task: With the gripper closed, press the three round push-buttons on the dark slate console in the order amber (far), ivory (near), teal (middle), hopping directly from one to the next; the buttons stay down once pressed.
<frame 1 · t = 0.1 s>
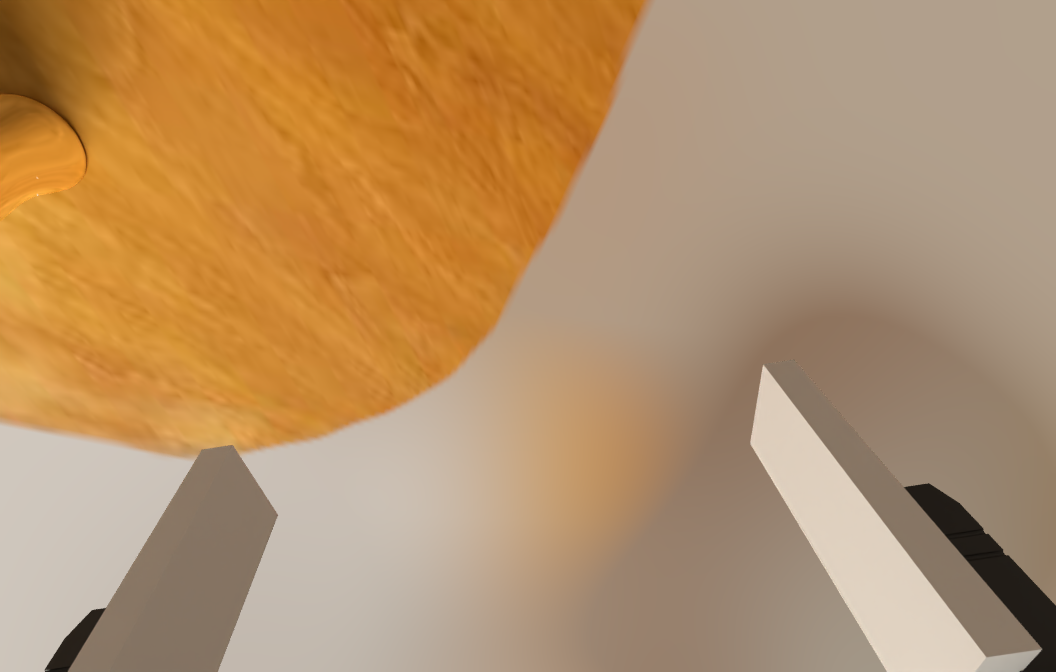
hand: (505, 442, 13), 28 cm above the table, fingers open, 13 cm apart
beer glass: (36, 143, 34), on the table
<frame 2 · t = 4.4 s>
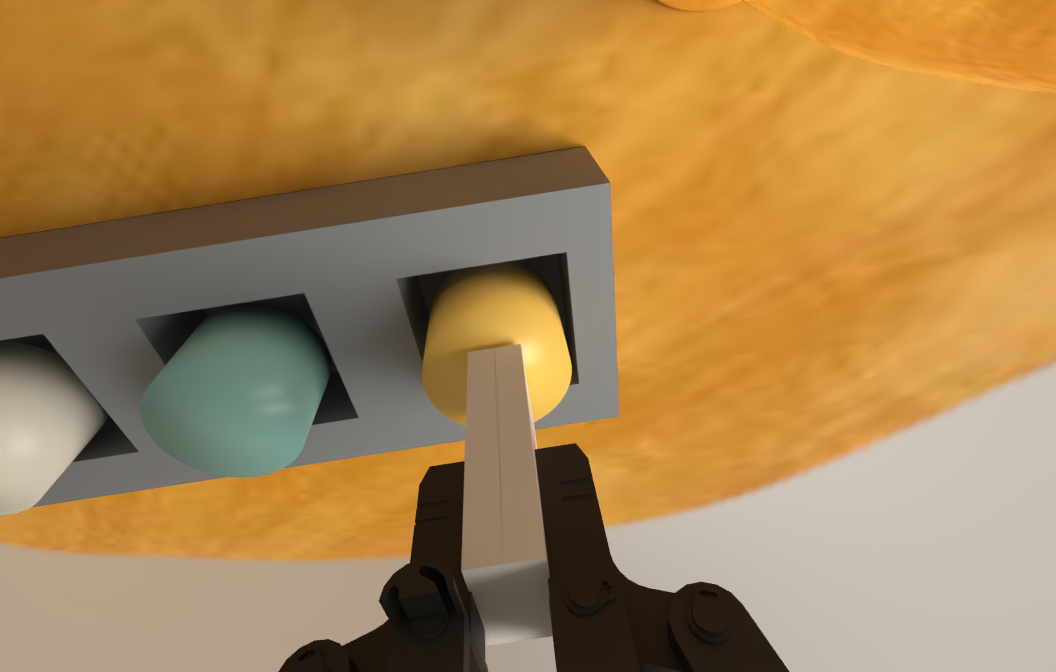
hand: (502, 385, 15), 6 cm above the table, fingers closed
console: (292, 310, 20), on the table
button amber: (495, 344, 16), point 5 cm above the table, slide at 0.3 cm, touching gripper
button teal: (246, 389, 16), point 5 cm above the table, slide at 0.0 cm
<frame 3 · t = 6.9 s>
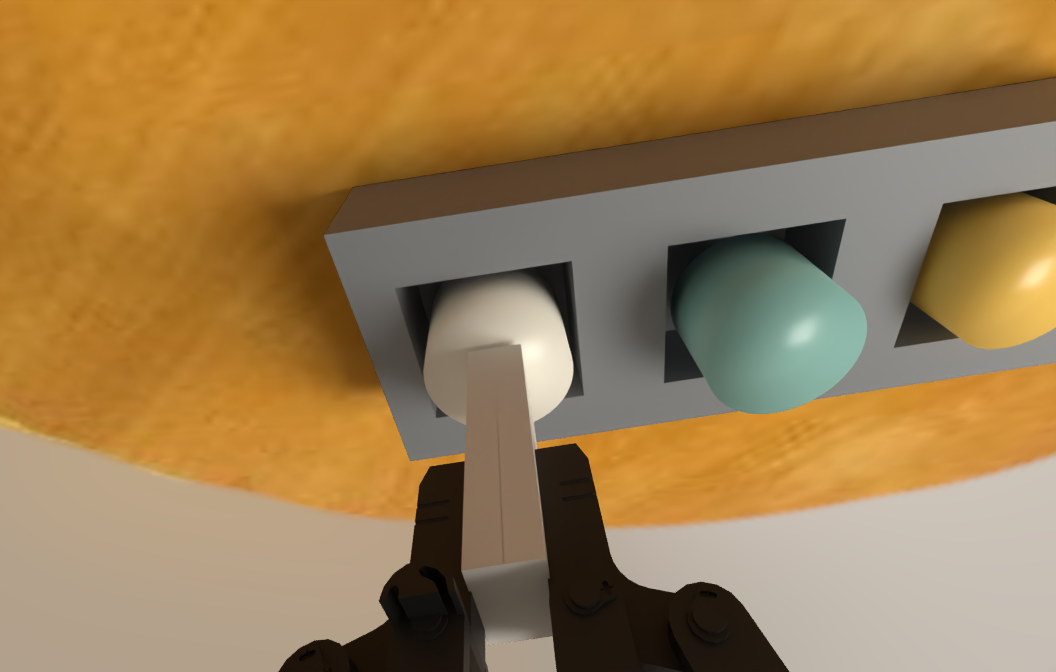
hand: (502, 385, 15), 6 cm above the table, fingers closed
button ivory: (497, 343, 16), point 4 cm above the table, slide at 1.0 cm, touching gripper
console: (701, 254, 20), on the table
button amber: (987, 264, 17), point 4 cm above the table, slide at 1.3 cm
button teal: (759, 322, 16), point 5 cm above the table, slide at 0.0 cm
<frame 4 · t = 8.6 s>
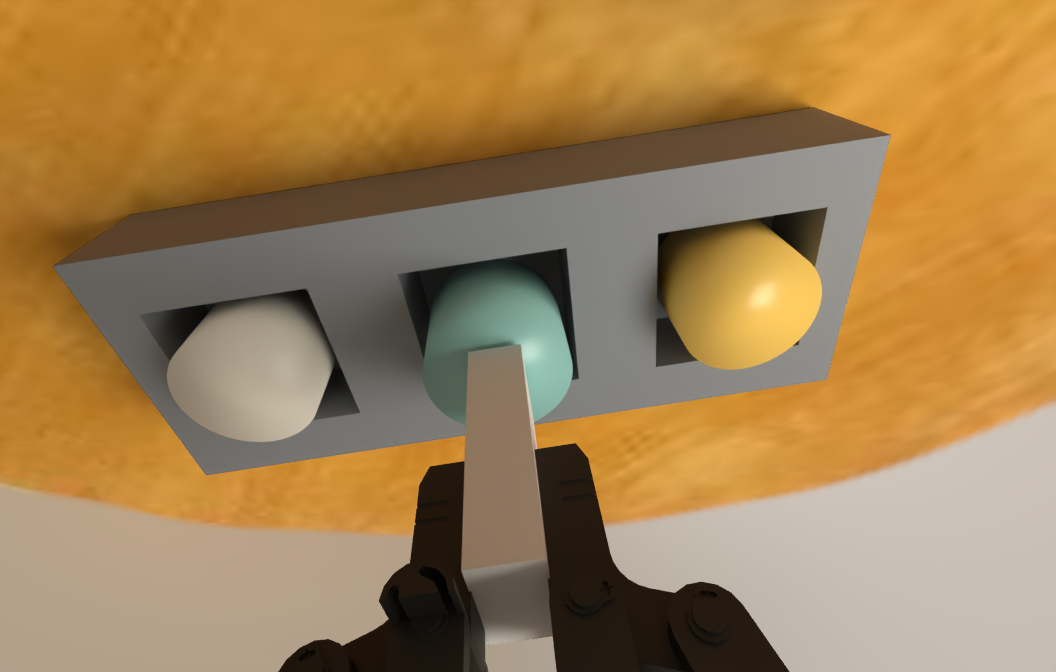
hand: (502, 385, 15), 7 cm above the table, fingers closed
button ivory: (263, 360, 17), point 4 cm above the table, slide at 1.3 cm
console: (492, 275, 20), on the table
button amber: (729, 288, 17), point 4 cm above the table, slide at 1.3 cm
button teal: (496, 343, 16), point 5 cm above the table, slide at 0.1 cm, touching gripper
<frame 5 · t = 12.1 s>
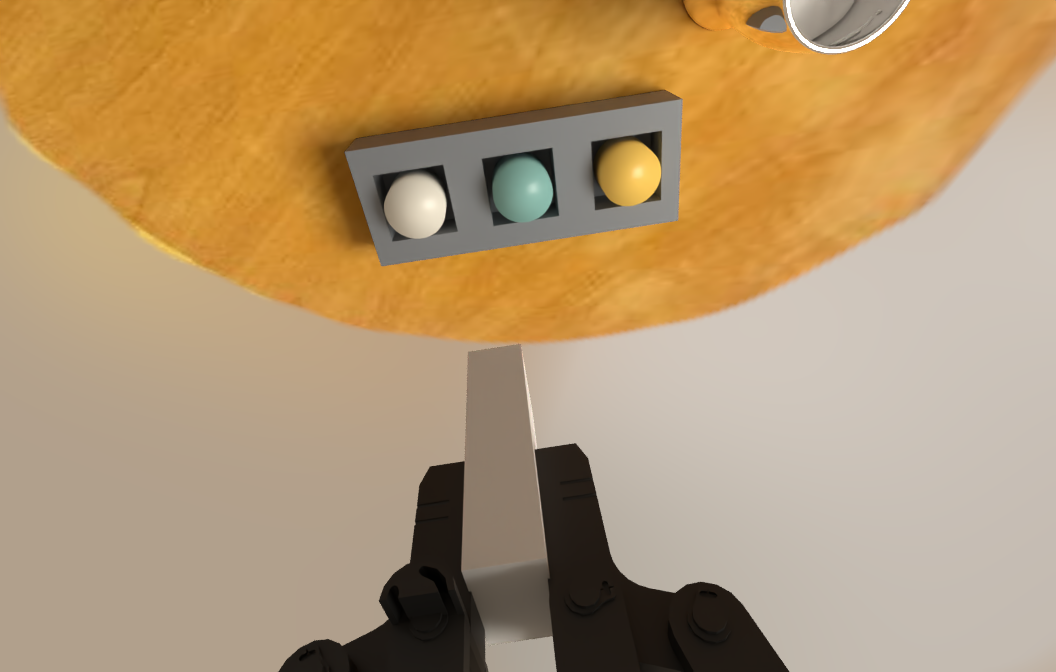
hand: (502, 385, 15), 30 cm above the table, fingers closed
button ivory: (417, 202, 39), point 4 cm above the table, slide at 1.3 cm
console: (518, 172, 42), on the table
button amber: (625, 170, 39), point 4 cm above the table, slide at 1.3 cm
button teal: (521, 186, 39), point 4 cm above the table, slide at 1.3 cm
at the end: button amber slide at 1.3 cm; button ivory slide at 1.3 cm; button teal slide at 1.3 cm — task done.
